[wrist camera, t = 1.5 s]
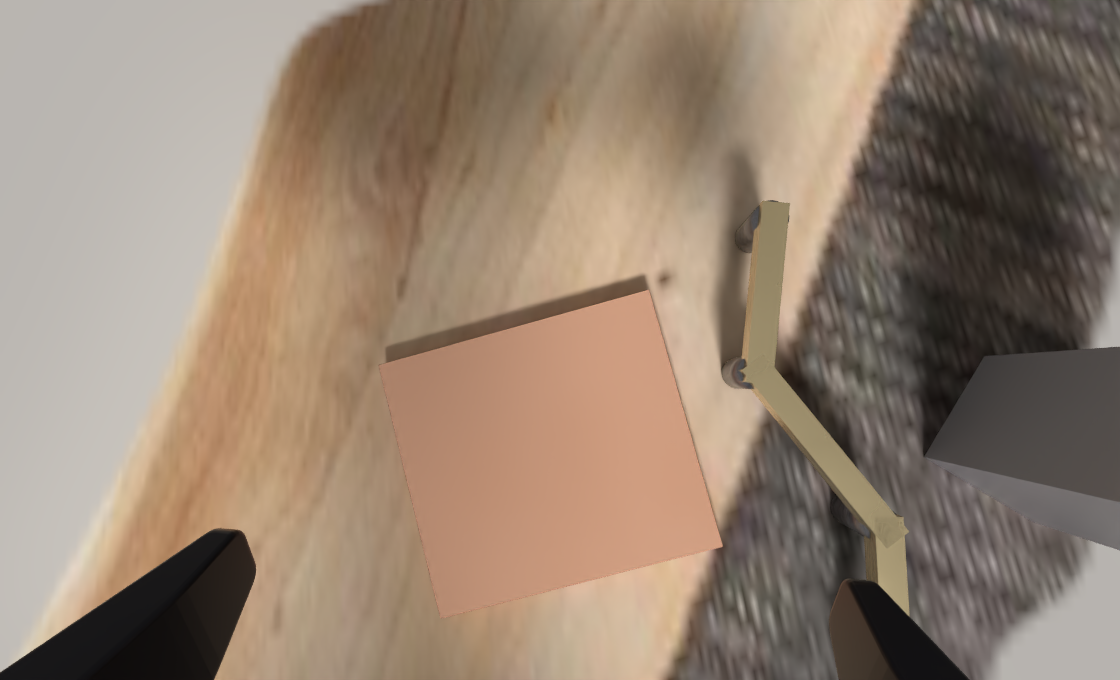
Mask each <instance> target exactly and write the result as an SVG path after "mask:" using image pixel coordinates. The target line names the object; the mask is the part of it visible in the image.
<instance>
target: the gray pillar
mask: <svg viewBox="0 0 1120 680" xmlns="http://www.w3.org/2000/svg"><path fill="white" fill-rule="evenodd" d="M924 457H925V458H926V459H928V460H930V461H931V462H933V463H935V464H936V465H938V466H940V467H941V468H943V469H945V470H946V471H948V472H950V473H951V474H953V475H955V476H957V477H958V478H960V479H962V480H963V481H965V482H967V483H968V484H970V485H972V486H973V487H975V488H977V489H978V490H980V491H982V492H983V493H985V494H987V495H988V496H990V497H992V498H993V499H995V500H997V501H998V502H1000V503H1002V504H1004V505H1005V506H1007V507H1009V508H1010V509H1012V510H1014V511H1015V512H1017V513H1019V514H1020V515H1022V516H1024V517H1025V518H1027V519H1029V520H1030V521H1032V522H1034V523H1037V524H1040V525H1043V526H1046V527H1049V528H1052V529H1056V530H1059V531H1062V532H1065V533H1068V534H1071V535H1074V536H1077V537H1080V538H1083V539H1086V540H1090V541H1093V542H1096V543H1099V544H1102V545H1105V546H1108V547H1112V548H1114V549H1117V550H1120V347H1109V348H1095V349H1080V350H1066V351H1052V352H1037V353H1023V354H1009V355H994V356H984V357H983V359H982V361H981V362H980V364H979V366H978V368H977V369H976V371H975V373H974V374H973V376H972V378H971V379H970V381H969V383H968V384H967V386H966V388H965V389H964V391H963V393H962V394H961V396H960V398H959V399H958V401H957V403H956V404H955V406H954V408H953V409H952V411H951V413H950V414H949V416H948V418H947V419H946V421H945V423H944V424H943V426H942V428H941V429H940V431H939V433H938V434H937V436H936V438H935V439H934V441H933V443H932V444H931V446H930V448H929V449H928V451H927V453H926V454H925V456H924Z"/></svg>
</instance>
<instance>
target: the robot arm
mask: <svg viewBox="0 0 1120 680" xmlns="http://www.w3.org/2000/svg"><path fill="white" fill-rule="evenodd" d="M255 575H256V564H255V561H254V558H253V556H252V553H251V550H250V547H249V545H248V542H247V539H246V536H245V534H244V533H243V532H242V531H240V530H235V529H222V528H218V529H214V530H211V531H209V532H208V533H206V534H205V535H203V536H202V537H200V538H199V539H197V540H196V541H194V542H193V543H191V544H190V545H188V546H187V547H185V548H184V549H182V550H181V551H179V552H178V553H176V554H175V555H173V556H172V557H171V558H169V559H168V560H166V561H165V562H163V563H162V564H160V565H159V566H157V567H156V568H154V569H153V570H151V571H150V572H148V573H147V574H145V575H144V576H142V577H141V578H139V579H138V580H136V581H135V582H133V583H132V584H131V585H129V586H128V587H126V588H125V589H123V590H122V591H120V592H119V593H117V594H116V595H114V596H113V597H111V598H110V599H108V600H107V601H105V602H104V603H102V604H101V605H99V606H98V607H96V608H95V609H93V610H92V611H91V612H89V613H88V614H86V615H85V616H83V617H82V618H80V619H79V620H77V621H76V622H74V623H73V624H71V625H70V626H68V627H67V628H65V629H64V630H62V631H61V632H59V633H58V634H56V635H55V636H53V637H52V638H51V639H49V640H48V641H46V642H45V643H43V644H42V645H40V646H39V647H37V648H36V649H34V650H33V651H31V652H30V653H28V654H27V655H25V656H24V657H22V658H21V659H19V660H18V661H16V662H15V663H13V664H12V665H11V666H9V667H8V668H6V669H5V670H3V671H2V672H0V680H214V679H215V676H216V674H217V672H218V669H219V667H220V665H221V662H222V660H223V657H224V655H225V652H226V650H227V647H228V645H229V642H230V640H231V637H232V635H233V632H234V630H235V627H236V625H237V622H238V620H239V617H240V615H241V612H242V610H243V607H244V605H245V602H246V600H247V597H248V595H249V592H250V590H251V588H252V585H253V582H254V579H255ZM829 628H830V635H831V640H832V646H833V651H834V657H835V662H836V667H837V673H838V678H839V680H969V679H968V678H967V676H966V675H965V674H964V673H963V672H962V671H961V670H960V669H959V668H958V667H957V666H956V665H955V664H954V663H953V662H952V661H951V660H950V659H949V658H948V657H947V656H946V655H945V653H944V652H943V651H942V650H941V649H940V648H939V647H938V646H937V645H936V644H935V643H934V642H933V641H932V640H931V639H930V638H929V637H928V636H927V635H926V634H925V633H924V632H923V630H922V629H921V628H920V627H919V626H918V625H917V624H916V623H915V622H914V621H913V620H912V619H911V618H910V617H909V616H908V615H907V614H906V613H905V612H904V611H903V610H902V608H901V607H900V606H899V605H898V604H897V603H896V602H895V601H894V600H893V599H892V598H891V597H890V596H889V595H888V594H887V593H886V592H885V591H884V590H883V589H882V588H881V587H880V586H879V585H878V584H877V583H875V582H873V581H870V580H859V579H846V580H844V581H843V582H842V584H841V586H840V588H839V591H838V594H837V596H836V599H835V602H834V604H833V607H832V610H831V612H830V617H829Z"/></svg>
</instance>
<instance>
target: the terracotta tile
mask: <svg viewBox="0 0 1120 680" xmlns="http://www.w3.org/2000/svg"><path fill="white" fill-rule="evenodd" d="M379 369H380V373H381V377H382V381H383V385H384V389H385V393H386V398H387V402H388V406H389V410H390V414H391V418H392V422H393V426H394V430H395V434H396V439H397V443H398V447H399V451H400V455H401V459H402V463H403V467H404V471H405V475H406V480H407V484H408V488H409V492H410V496H411V500H412V504H413V508H414V512H415V516H416V520H417V525H418V529H419V533H420V537H421V541H422V545H423V549H424V553H425V557H426V561H427V566H428V570H429V574H430V578H431V582H432V586H433V590H434V594H435V598H436V602H437V607H438V611H439V615H440V619H441V618H445V617H449V616H453V615H457V614H461V613H465V612H469V611H473V610H477V609H480V608H484V607H488V606H492V605H496V604H500V603H504V602H508V601H512V600H516V599H520V598H524V597H527V596H531V595H535V594H539V593H543V592H547V591H551V590H555V589H559V588H563V587H567V586H570V585H574V584H578V583H582V582H586V581H590V580H594V579H598V578H602V577H606V576H610V575H614V574H617V573H621V572H625V571H629V570H633V569H637V568H641V567H645V566H649V565H653V564H657V563H660V562H664V561H668V560H672V559H676V558H680V557H684V556H688V555H692V554H696V553H700V552H704V551H707V550H711V549H715V548H719V547H723V546H722V542H721V539H720V535H719V532H718V528H717V525H716V521H715V518H714V514H713V511H712V508H711V504H710V501H709V497H708V494H707V490H706V487H705V483H704V480H703V476H702V473H701V469H700V466H699V462H698V459H697V455H696V452H695V448H694V445H693V441H692V438H691V435H690V431H689V428H688V424H687V421H686V417H685V414H684V410H683V407H682V403H681V400H680V396H679V393H678V389H677V386H676V382H675V379H674V375H673V372H672V368H671V365H670V361H669V358H668V355H667V351H666V348H665V344H664V341H663V337H662V334H661V330H660V327H659V323H658V320H657V316H656V313H655V309H654V306H653V302H652V299H651V295H650V292H649V290H646V291H642V292H639V293H635V294H631V295H628V296H624V297H621V298H617V299H614V300H610V301H606V302H603V303H599V304H596V305H592V306H588V307H585V308H581V309H578V310H574V311H571V312H567V313H563V314H560V315H556V316H553V317H549V318H545V319H542V320H538V321H535V322H531V323H527V324H524V325H520V326H517V327H513V328H510V329H506V330H502V331H499V332H495V333H492V334H488V335H484V336H481V337H477V338H474V339H470V340H467V341H463V342H459V343H456V344H452V345H449V346H445V347H441V348H438V349H434V350H431V351H427V352H424V353H420V354H416V355H413V356H409V357H406V358H402V359H398V360H395V361H391V362H388V363H384V364H380V365H379Z"/></svg>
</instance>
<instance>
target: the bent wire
mask: <svg viewBox="0 0 1120 680" xmlns="http://www.w3.org/2000/svg"><path fill="white" fill-rule="evenodd" d="M789 206H790V203H782V202H778V201H773V200H770V201H762V202H761V203H760V205H759V206H758V207H757V208H756V209H755V210H754V212H753V213H752V214H751V215H750V216H749V217H748V218H747V219H746V221H745V222H744V223H743V224H742V225H741V226H740V227H739V229H738V230H737V232H736V234H735V242H736V244H737V246H738V247H739V248H740V249H741V250H742V251H744V252H747V253H752V256H751V267H750V277H749V287H748V298H747V308H746V319H745V329H744V339H743V350H742V357H737V358H732V359H730V360H728V361H727V362H726V363H725V364H724V366H723V368H722V377H723V380H724V382H725V383H726V384H727V385H728V386H730V387H732V388H738V389H751V390H752V391H753V392H754V394H755V395H756V396H757V397H758V398H759V400H760V401H761V402H762V403H763V405H764V406H765V407H766V408H767V410H768V411H769V412H770V413H771V414H772V416H773V417H774V418H775V419H776V421H777V422H778V423H779V424H780V426H781V427H782V428H783V429H784V431H785V432H786V433H787V434H788V435H789V437H790V438H791V439H792V440H793V442H794V443H795V444H796V445H797V447H798V448H799V449H800V450H801V452H802V453H803V454H804V455H805V456H806V458H807V459H808V460H809V461H810V463H811V464H812V465H813V466H814V468H815V469H816V470H817V471H818V472H819V474H820V475H821V476H822V477H823V479H824V480H825V481H826V482H827V484H828V485H829V486H830V487H831V489H832V490H833V491H834V492H835V493H836V496H835V497H834V498H833V500H832V502H831V513H832V515H833V517H834V518H835V519H836V520H837V521H839V522H840V523H842V524H844V525H845V526H847V527H849V528H850V529H852V530H854V531H855V532H857V533H859V534H861V535H862V536H864V543H865V561H866V578H867V580H870V581H873V582H875V583H877V584H878V585H879V586H880V587H881V588H882V589H883V590H884V591H885V592H886V593H887V594H888V595H889V596H890V597H891V598H892V599H893V600H894V601H895V602H896V603H897V604H898V605H899V606H900V607H901V608H902V610H903V611H904V612H905V613H906V614H907V615H908V616H909V601H908V585H907V568H906V552H905V535H906V534H907V533H908V532H909V531H908V530H907V529H906V527H905V526H904V519H903V517H902V516H899V515H897V514H896V513H894V512H893V511H892V510H891V509H890V508H889V507H888V505H887V504H886V503H885V502H884V501H883V499H882V498H881V497H880V496H879V494H878V493H877V492H876V491H875V490H874V488H873V487H872V486H871V485H870V483H869V482H868V481H867V480H866V479H865V477H864V476H863V475H862V474H861V472H860V471H859V470H858V469H857V468H856V466H855V465H854V464H853V463H852V461H851V460H850V459H849V458H848V457H847V455H846V454H845V453H844V452H843V450H842V449H841V448H840V447H839V446H838V444H837V443H836V442H835V441H834V439H833V438H832V437H831V436H830V435H829V433H828V432H827V431H826V430H825V428H824V427H823V426H822V425H821V424H820V422H819V421H818V420H817V419H816V417H815V416H814V415H813V414H812V413H811V411H810V410H809V409H808V408H807V406H806V405H805V404H804V403H803V402H802V400H801V399H800V398H799V397H798V396H797V394H796V393H795V392H794V391H793V389H792V388H791V387H790V386H789V385H788V383H787V382H786V381H785V380H784V378H783V377H782V376H781V375H780V374H779V372H778V371H777V370H776V369H775V357H776V346H777V335H778V324H779V314H780V303H781V292H782V281H783V271H784V260H785V249H786V238H787V228H788V222H789Z"/></svg>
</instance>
